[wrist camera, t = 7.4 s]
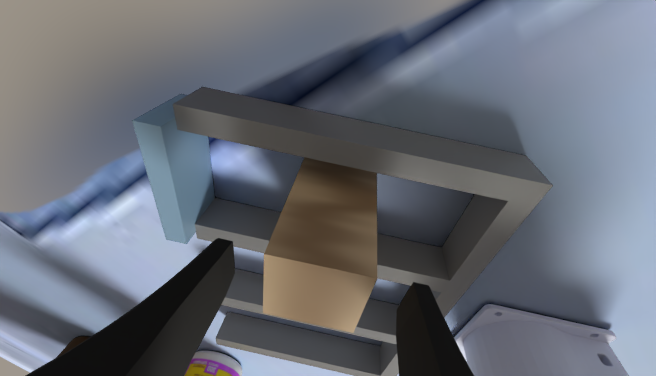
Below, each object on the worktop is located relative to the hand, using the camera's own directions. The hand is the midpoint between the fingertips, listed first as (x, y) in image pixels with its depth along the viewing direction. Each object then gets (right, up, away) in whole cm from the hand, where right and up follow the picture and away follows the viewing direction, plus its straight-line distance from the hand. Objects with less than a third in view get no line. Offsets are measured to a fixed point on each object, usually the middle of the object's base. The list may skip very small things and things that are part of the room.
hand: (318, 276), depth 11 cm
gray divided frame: (0, -2, +9) cm, 9 cm away
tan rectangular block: (+1, +3, +5) cm, 6 cm away
